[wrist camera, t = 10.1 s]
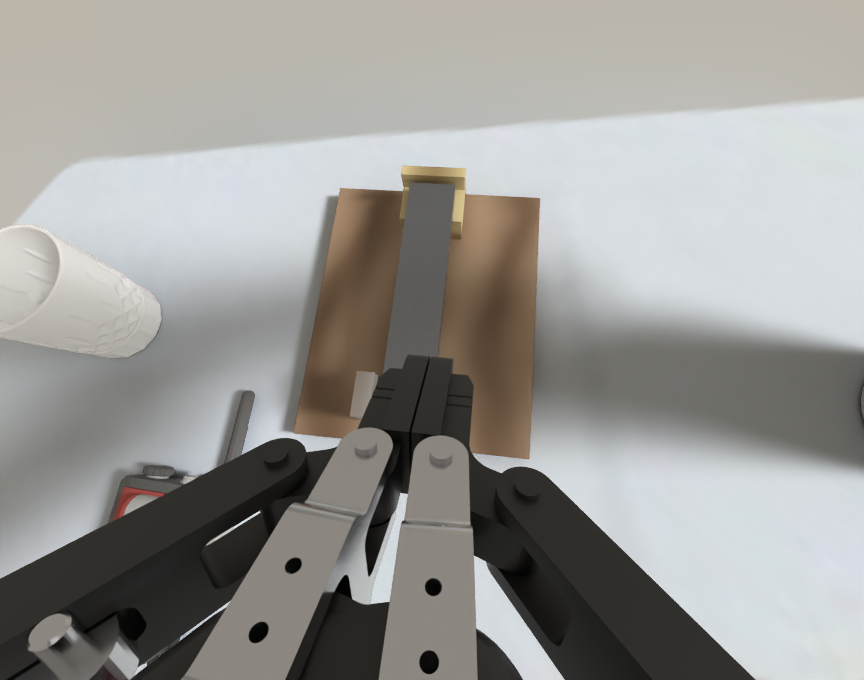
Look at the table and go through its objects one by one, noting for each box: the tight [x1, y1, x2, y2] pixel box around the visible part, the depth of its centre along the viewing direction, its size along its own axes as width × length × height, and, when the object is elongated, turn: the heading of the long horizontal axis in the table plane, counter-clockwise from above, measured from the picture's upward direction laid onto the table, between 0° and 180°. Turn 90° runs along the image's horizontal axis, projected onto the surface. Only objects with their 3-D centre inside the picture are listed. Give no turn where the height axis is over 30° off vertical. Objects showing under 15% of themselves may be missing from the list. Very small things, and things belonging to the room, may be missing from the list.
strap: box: [383, 182, 455, 374], centre depth 29 cm, size 4×18×2 cm, turn 174°
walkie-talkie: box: [108, 391, 255, 666], centre depth 29 cm, size 9×4×20 cm
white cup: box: [0, 224, 162, 358], centre depth 31 cm, size 8×8×10 cm
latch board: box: [294, 166, 540, 459], centre depth 31 cm, size 18×22×6 cm
